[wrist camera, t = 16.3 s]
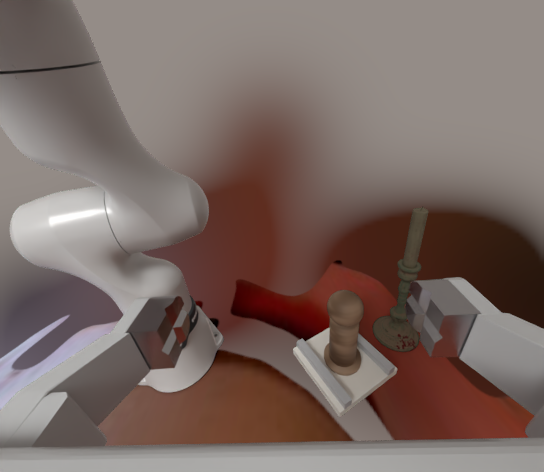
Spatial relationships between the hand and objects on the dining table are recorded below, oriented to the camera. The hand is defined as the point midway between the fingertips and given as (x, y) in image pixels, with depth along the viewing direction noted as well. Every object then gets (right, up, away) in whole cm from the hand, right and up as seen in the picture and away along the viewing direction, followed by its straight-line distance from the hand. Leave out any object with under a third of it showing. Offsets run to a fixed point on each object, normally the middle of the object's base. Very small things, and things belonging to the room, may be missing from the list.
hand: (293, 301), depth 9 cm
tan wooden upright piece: (+13, -22, +39) cm, 46 cm away
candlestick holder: (+26, -19, +44) cm, 55 cm away
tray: (+13, -23, +39) cm, 47 cm away
